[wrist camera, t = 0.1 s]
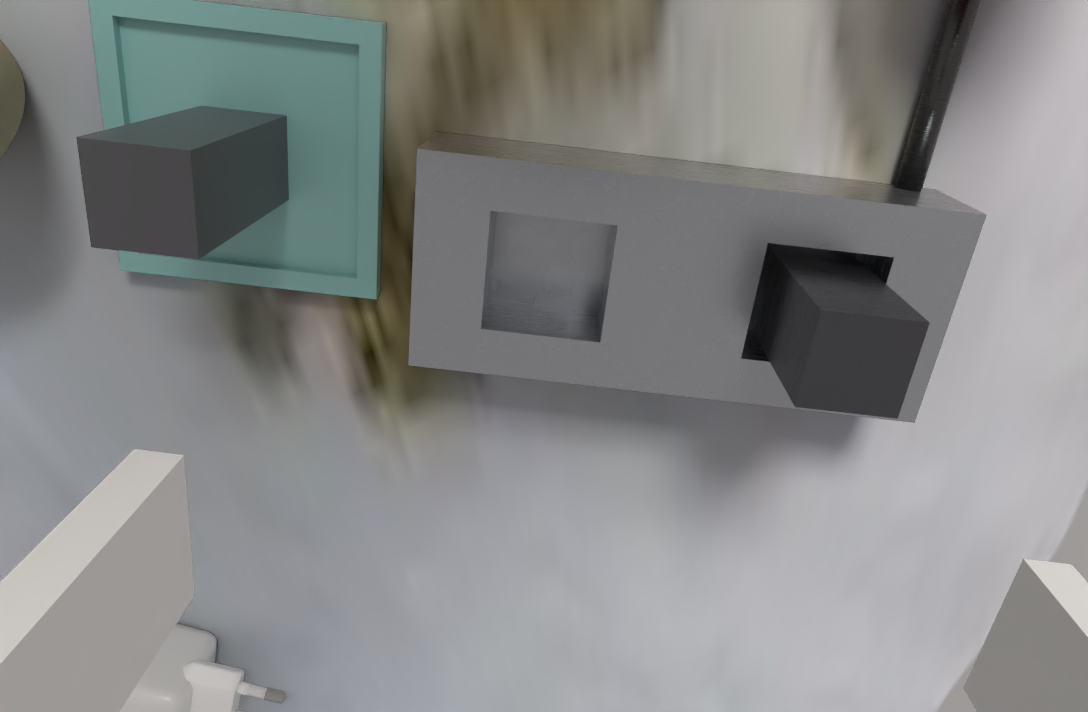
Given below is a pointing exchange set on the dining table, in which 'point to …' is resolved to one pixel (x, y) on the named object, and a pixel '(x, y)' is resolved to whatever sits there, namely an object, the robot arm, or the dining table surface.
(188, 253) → the plug
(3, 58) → the flower pot
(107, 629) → the robot arm
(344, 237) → the tray
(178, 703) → the white lumpy piece
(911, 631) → the dining table surface
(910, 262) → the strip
